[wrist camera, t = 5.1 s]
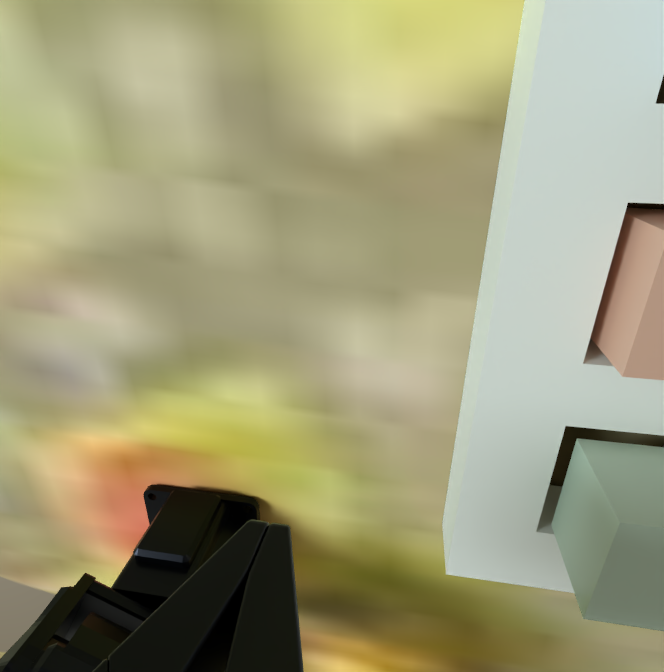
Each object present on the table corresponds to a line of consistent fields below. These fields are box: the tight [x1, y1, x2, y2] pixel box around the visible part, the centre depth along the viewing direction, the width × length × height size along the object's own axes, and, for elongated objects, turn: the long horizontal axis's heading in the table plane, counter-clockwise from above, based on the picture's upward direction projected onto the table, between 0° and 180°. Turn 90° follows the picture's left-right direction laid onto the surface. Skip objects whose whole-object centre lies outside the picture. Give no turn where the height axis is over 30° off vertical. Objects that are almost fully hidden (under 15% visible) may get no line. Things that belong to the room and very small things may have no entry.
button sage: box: [551, 438, 664, 631], centre depth 16 cm, size 4×4×4 cm
